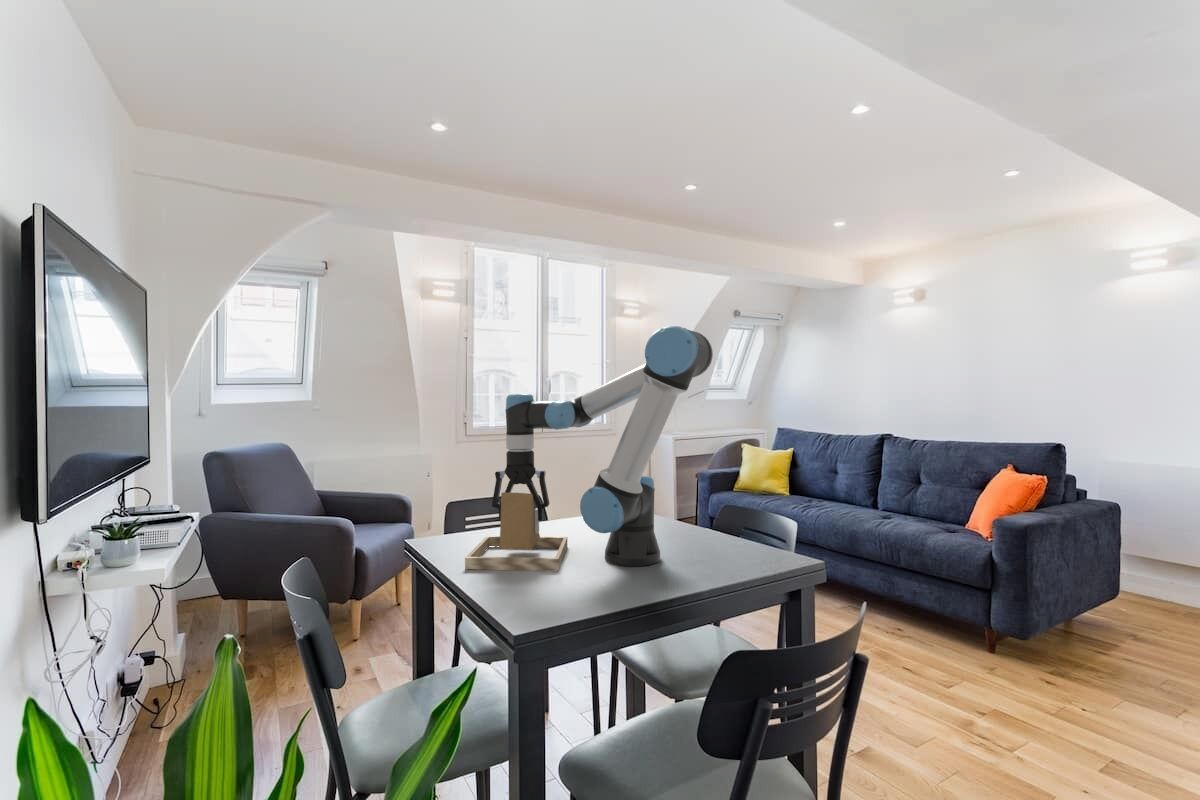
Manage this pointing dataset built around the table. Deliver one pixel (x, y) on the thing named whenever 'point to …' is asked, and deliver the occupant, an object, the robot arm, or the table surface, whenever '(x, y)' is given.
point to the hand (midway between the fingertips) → (521, 532)
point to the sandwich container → (517, 521)
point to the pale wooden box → (516, 563)
